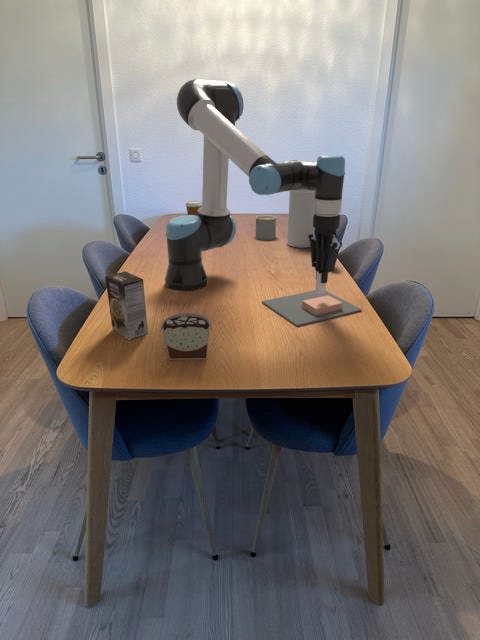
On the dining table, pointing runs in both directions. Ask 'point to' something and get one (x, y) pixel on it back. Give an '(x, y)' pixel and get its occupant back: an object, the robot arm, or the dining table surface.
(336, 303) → the pink picture frame
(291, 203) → the cylinder vase
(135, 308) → the coffee box
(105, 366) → the dining table surface
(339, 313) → the mat
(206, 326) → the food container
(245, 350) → the dining table surface
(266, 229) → the coffee mug
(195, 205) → the disposable coffee cup
